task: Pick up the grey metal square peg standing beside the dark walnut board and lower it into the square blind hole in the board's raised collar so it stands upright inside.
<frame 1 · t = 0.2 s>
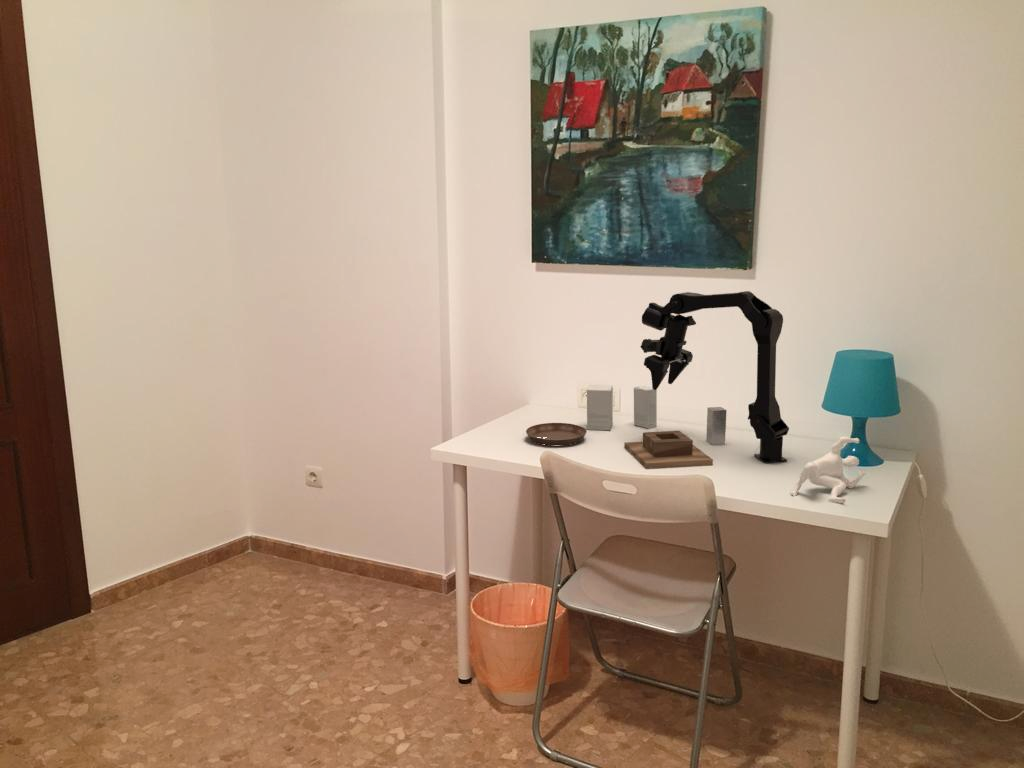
hand: (662, 386, 242), 15 cm above the table, tool pointing down, fingers open, 9 cm apart
supplement box: (599, 428, 257), on the table
person figurine: (827, 491, 198), on the table
socket block: (666, 455, 227), on the table
steel peg: (715, 442, 239), on the table
plant saucer: (556, 441, 244), on the table
skincare box: (644, 426, 259), on the table
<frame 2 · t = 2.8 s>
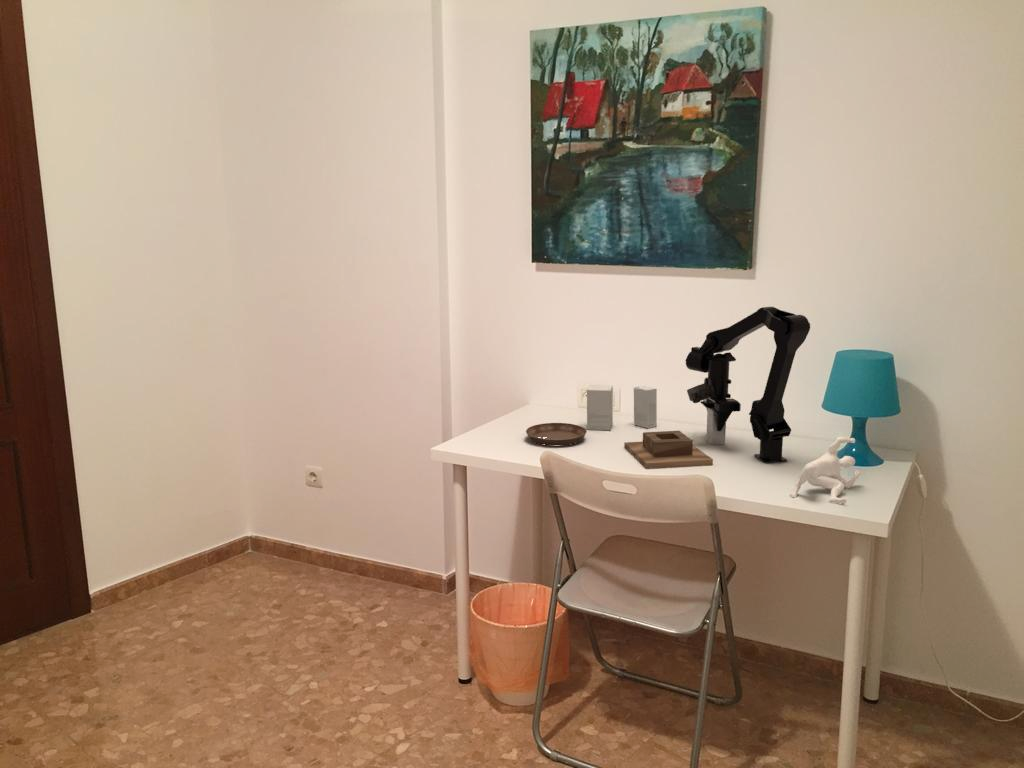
hand: (716, 429, 239), 4 cm above the table, tool pointing down, fingers closed on steel peg, 4 cm apart
steel peg: (715, 442, 239), on the table, touching gripper
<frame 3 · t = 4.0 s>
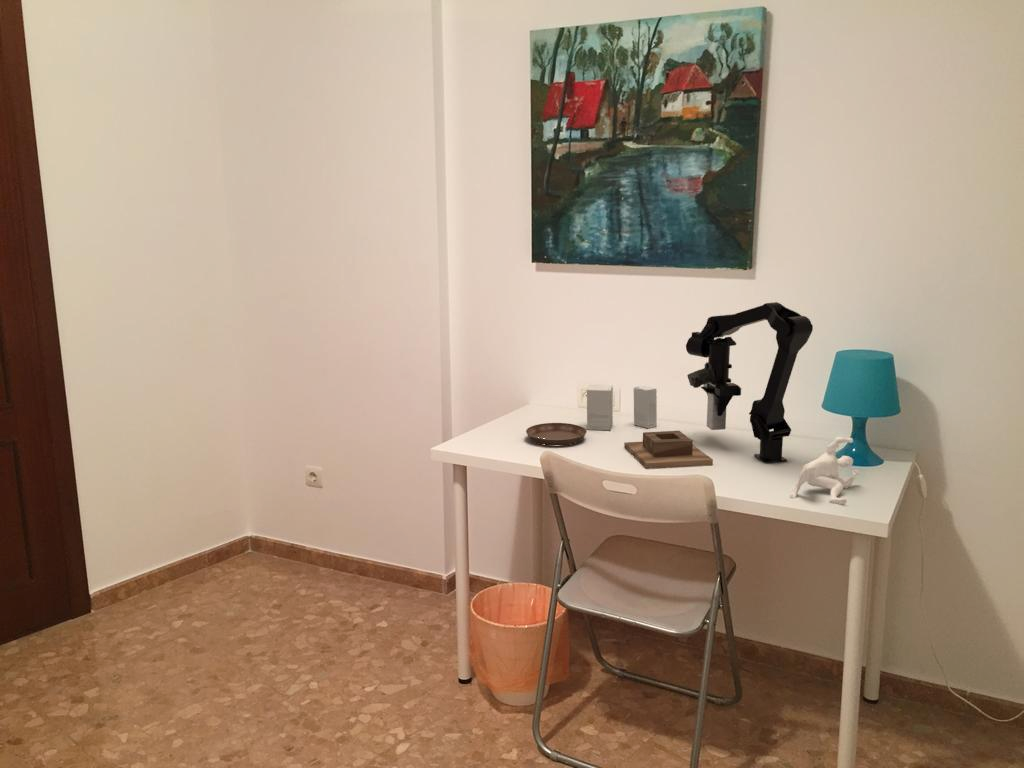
hand: (716, 414, 238), 8 cm above the table, tool pointing down, fingers closed on steel peg, 4 cm apart
steel peg: (715, 427, 239), point 4 cm above the table, touching gripper
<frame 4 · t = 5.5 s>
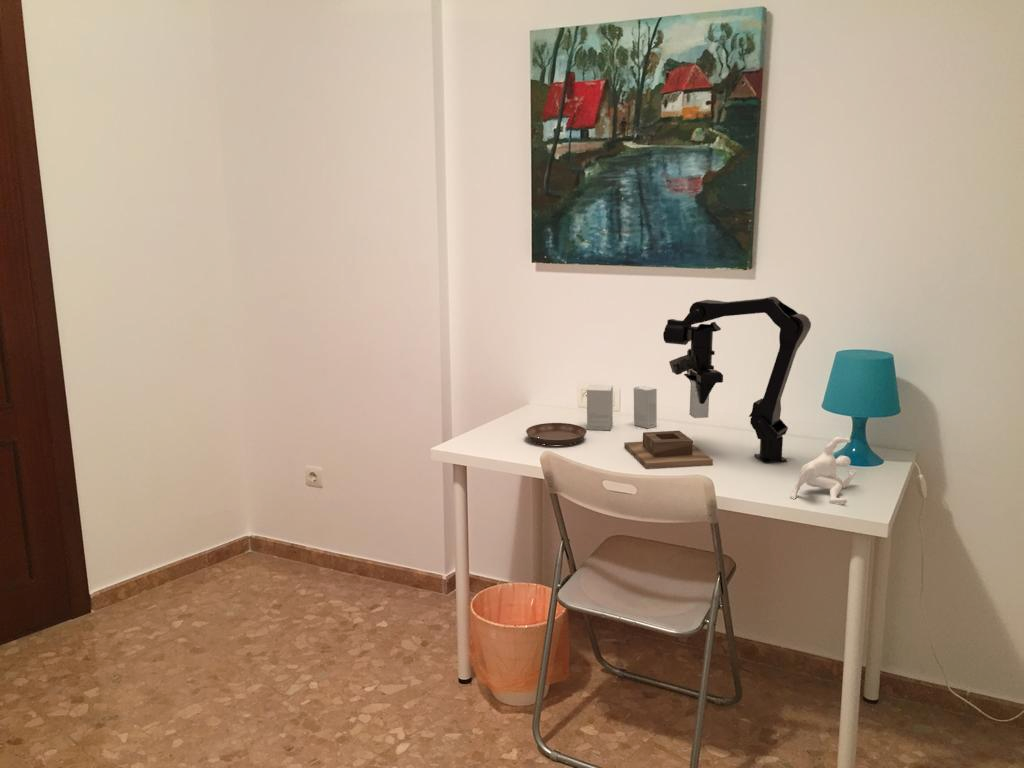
hand: (699, 401, 232), 13 cm above the table, tool pointing down, fingers closed on steel peg, 4 cm apart
steel peg: (698, 416, 233), point 9 cm above the table, touching gripper
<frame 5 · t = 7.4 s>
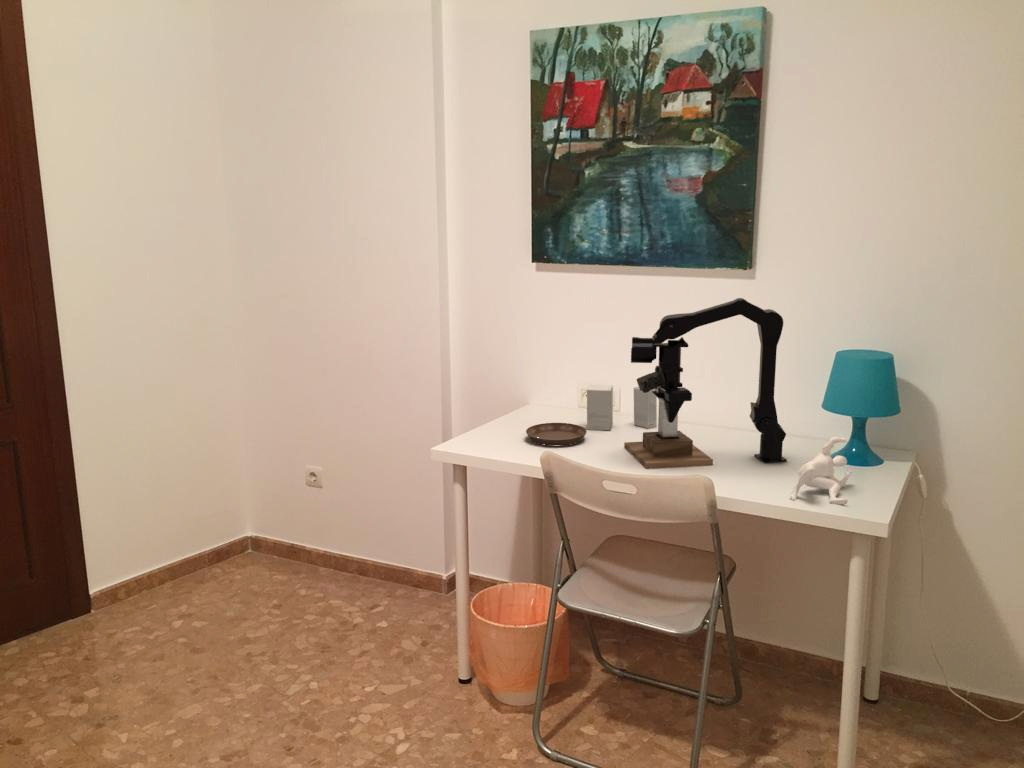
hand: (668, 420, 225), 10 cm above the table, tool pointing down, fingers closed on steel peg, 4 cm apart
steel peg: (667, 434, 226), point 6 cm above the table, touching gripper
when the fingers open (6 cm above the table, at t = 8.7 s): steel peg stays where it is, resting on socket block.
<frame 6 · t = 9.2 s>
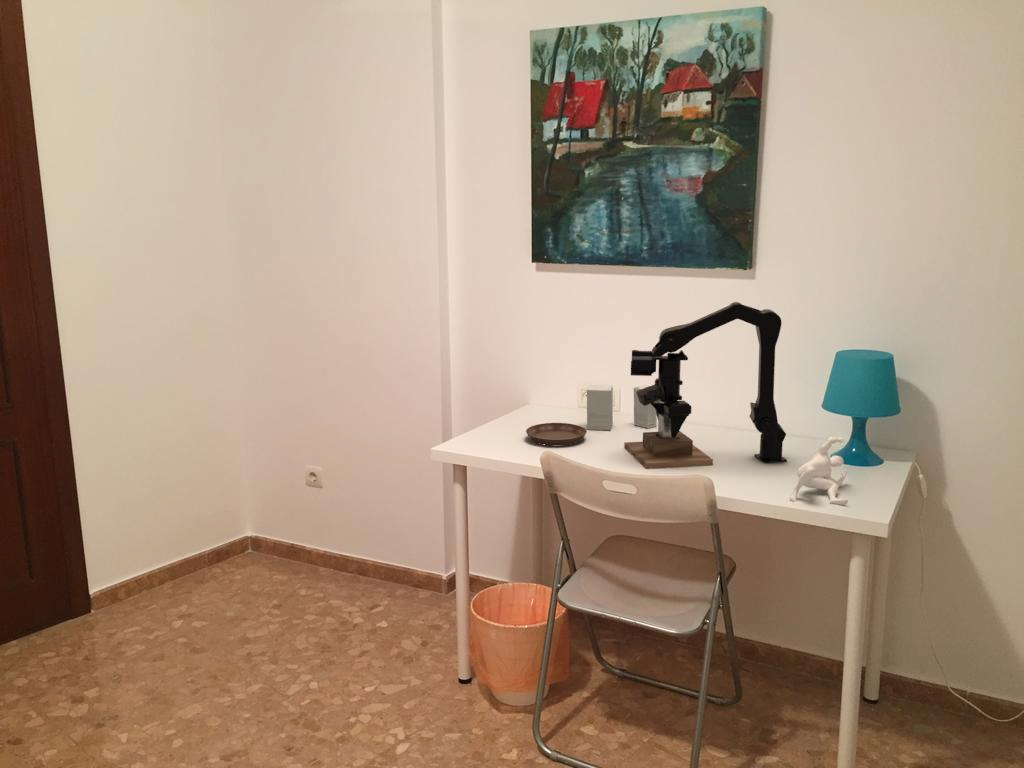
hand: (667, 432, 226), 6 cm above the table, tool pointing down, fingers open, 9 cm apart
steel peg: (667, 450, 227), point 1 cm above the table, touching socket block
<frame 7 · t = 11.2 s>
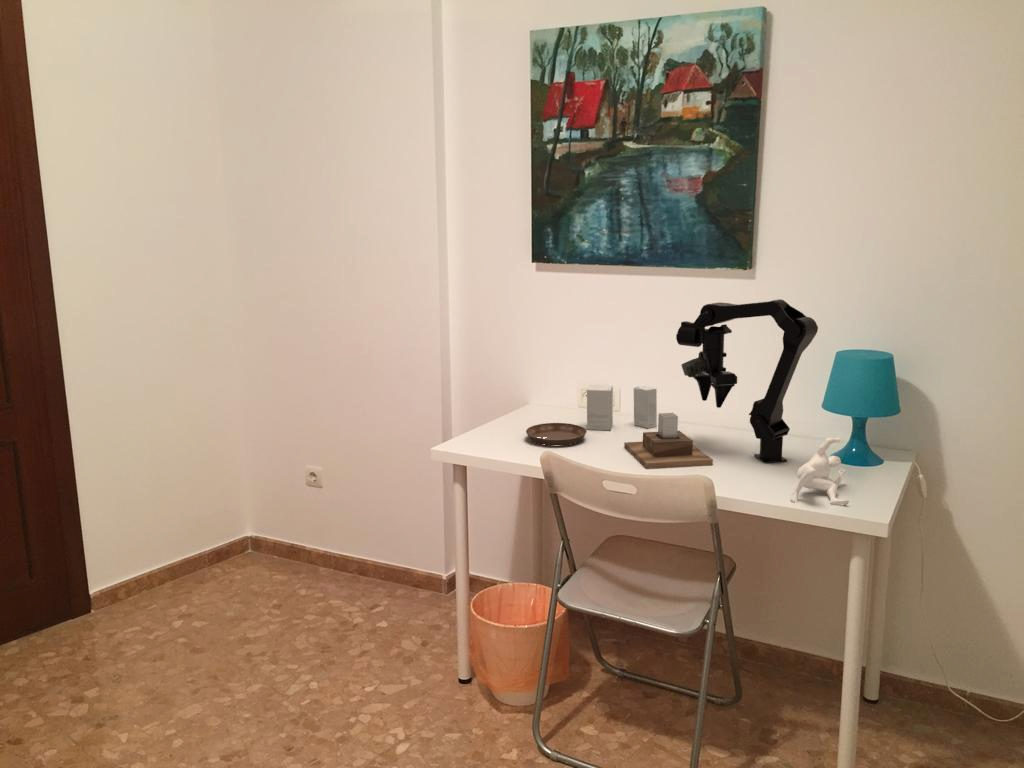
hand: (711, 404, 233), 12 cm above the table, tool pointing down, fingers open, 9 cm apart
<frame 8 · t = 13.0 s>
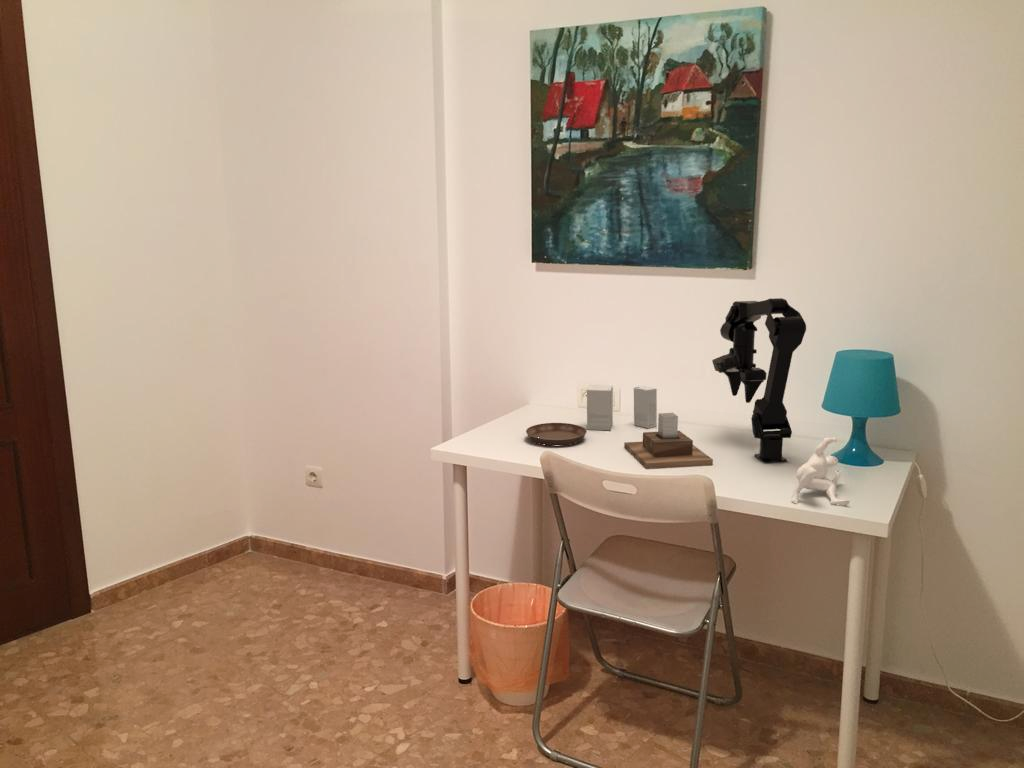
hand: (741, 399, 240), 12 cm above the table, tool pointing down, fingers open, 9 cm apart
at the end: steel peg 0.0 cm off-centre on the socket block, point 1.5 cm above the socket block's base; steel peg tilted 0°; the gripper is holding nothing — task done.
